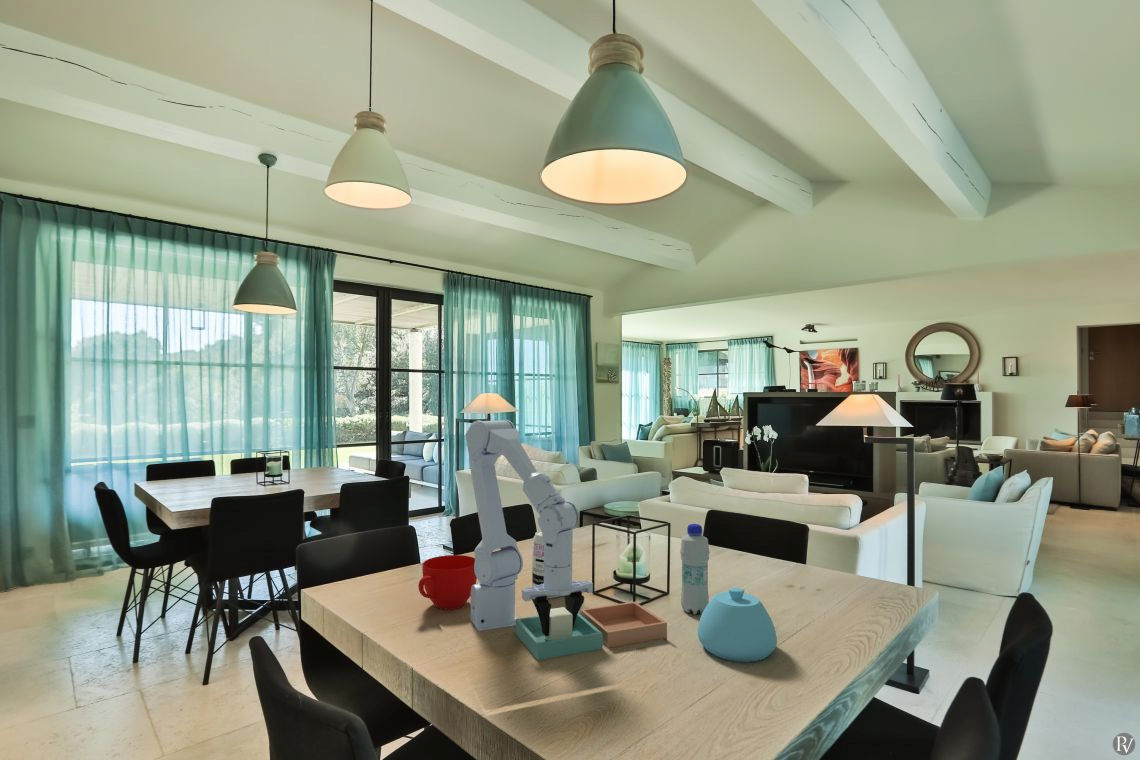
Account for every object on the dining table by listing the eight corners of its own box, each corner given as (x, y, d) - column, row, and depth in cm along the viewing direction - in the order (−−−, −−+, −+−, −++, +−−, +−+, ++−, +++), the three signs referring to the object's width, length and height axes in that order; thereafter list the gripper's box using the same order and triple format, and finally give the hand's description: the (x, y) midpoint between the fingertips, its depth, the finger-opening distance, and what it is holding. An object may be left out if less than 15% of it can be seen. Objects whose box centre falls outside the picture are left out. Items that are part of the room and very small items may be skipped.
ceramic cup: (397, 614, 134) (398, 569, 134) (446, 592, 149) (446, 552, 149) (442, 624, 128) (443, 577, 128) (488, 600, 143) (488, 559, 143)
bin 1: (537, 663, 109) (537, 644, 109) (515, 636, 122) (515, 619, 122) (602, 651, 114) (602, 633, 114) (575, 626, 127) (575, 610, 127)
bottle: (710, 617, 132) (710, 527, 133) (679, 615, 134) (679, 526, 134) (709, 607, 139) (709, 521, 140) (680, 604, 140) (680, 520, 141)
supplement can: (566, 588, 152) (566, 530, 152) (563, 599, 144) (563, 537, 144) (535, 587, 153) (535, 529, 153) (529, 598, 144) (530, 536, 145)
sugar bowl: (760, 632, 124) (760, 577, 125) (789, 665, 109) (789, 601, 110) (689, 633, 124) (689, 577, 124) (709, 666, 109) (708, 602, 109)
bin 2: (607, 650, 115) (607, 632, 115) (580, 626, 127) (580, 609, 127) (666, 640, 120) (666, 622, 120) (634, 617, 132) (634, 601, 132)
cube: (551, 643, 115) (551, 617, 115) (543, 635, 119) (543, 609, 119) (572, 640, 117) (572, 614, 117) (563, 631, 121) (564, 607, 121)
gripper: (530, 573, 112) (529, 645, 112) (599, 565, 118) (599, 634, 117) (518, 563, 118) (518, 631, 118) (584, 556, 124) (584, 621, 124)
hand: (557, 632), depth 118 cm, fingers closed on cube, 4 cm apart
